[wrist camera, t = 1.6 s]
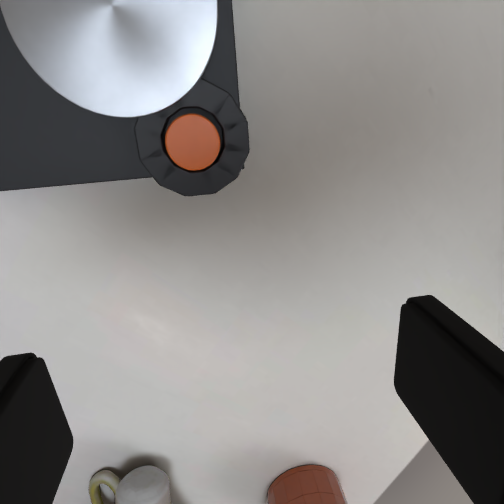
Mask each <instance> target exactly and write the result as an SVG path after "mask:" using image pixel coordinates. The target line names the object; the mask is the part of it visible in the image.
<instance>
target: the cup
mask: <svg viewBox="0 0 504 504" xmlns="http://www.w3.org/2000/svg"><path fill="white" fill-rule="evenodd" d="M267 499H268V504H348V503H347V500H346V498H345V495H344V492H343V490H342V487H341V484H340V483H339V481H338V478H337V476H336V475H335V473H334V472H333V471H331V470H330V469H328V468H326V467H323V466H318V465H305V466H300V467H296V468H293V469H291V470H288V471H286V472H285V473H283V474H282V475H280V476H279V477H278V478H277V479H276V480H275V481H274V482H273V483H272V484H271V486H270V488H269V490H268V494H267Z"/></svg>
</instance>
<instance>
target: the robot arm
mask: <svg viewBox="0 0 504 504" xmlns="http://www.w3.org/2000/svg"><path fill="white" fill-rule="evenodd" d="M394 386H395V390H396V392H397V394H398V396H399V397H400V399H401V400H402V401H403V403H404V404H405V406H406V407H407V409H408V410H409V411H410V413H411V414H412V416H413V417H414V419H415V420H416V421H417V423H418V424H419V426H420V427H421V429H422V430H423V432H424V433H425V434H426V436H427V437H428V439H429V440H430V442H431V443H432V444H433V446H434V447H435V449H436V450H437V452H438V453H439V454H440V456H441V457H442V459H443V460H444V462H445V463H446V464H447V466H448V467H449V469H450V470H451V472H452V473H453V474H454V476H455V477H456V479H457V480H458V481H459V483H460V484H461V486H462V487H463V489H464V490H465V492H466V493H467V494H468V496H469V497H470V499H471V500H472V502H473V503H474V504H504V352H503V351H502V350H501V349H500V348H498V347H497V346H496V345H495V344H493V343H492V342H491V341H489V340H488V339H487V338H486V337H484V336H483V335H482V334H481V333H479V332H478V331H477V330H476V329H474V328H473V327H472V326H471V325H469V324H468V323H467V322H465V321H464V320H463V319H462V318H460V317H459V316H458V315H457V314H455V313H454V312H453V311H452V310H450V309H449V308H448V307H447V306H445V305H444V304H443V303H441V302H440V301H439V300H438V299H436V298H435V297H434V296H432V295H425V296H418V297H411V298H409V299H408V300H407V301H406V304H403V305H402V307H401V313H400V323H399V333H398V343H397V354H396V364H395V374H394ZM72 448H73V436H72V433H71V430H70V427H69V425H68V422H67V419H66V417H65V414H64V411H63V409H62V406H61V404H60V401H59V398H58V396H57V393H56V390H55V388H54V385H53V382H52V380H51V377H50V374H49V372H48V369H47V367H46V364H45V362H44V360H43V359H42V358H40V357H39V358H37V357H36V355H35V354H34V353H25V354H18V355H11V356H6V357H4V358H3V359H2V360H1V361H0V504H52V503H53V500H54V497H55V495H56V492H57V490H58V487H59V484H60V482H61V479H62V476H63V474H64V471H65V468H66V466H67V463H68V460H69V458H70V455H71V452H72Z"/></svg>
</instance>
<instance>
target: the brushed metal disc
mask: <svg viewBox="0 0 504 504" xmlns="http://www.w3.org/2000/svg"><path fill="white" fill-rule="evenodd" d="M0 6H1V11H2V14H3V16H4V19H5V22H6V25H7V28H8V30H9V32H10V34H11V36H12V38H13V40H14V42H15V44H16V46H17V47H18V49H19V51H20V52H21V54H22V56H23V57H24V59H25V60H26V61H27V63H28V64H29V65H30V67H31V68H32V69H33V70H34V71H35V73H36V74H37V75H38V76H39V77H40V78H41V79H42V80H43V81H44V82H45V83H46V84H47V85H48V86H50V87H51V88H52V89H53V90H54V91H55V92H57V93H58V94H60V95H61V96H62V97H64V98H65V99H67V100H68V101H70V102H72V103H74V104H76V105H77V106H79V107H81V108H84V109H86V110H89V111H91V112H94V113H97V114H101V115H105V116H110V117H118V118H135V117H142V116H148V115H151V114H155V113H158V112H160V111H163V110H165V109H167V108H169V107H171V106H172V105H174V104H175V103H177V102H178V101H180V100H181V99H182V98H183V97H184V96H186V95H187V94H188V93H189V92H190V91H191V90H192V88H193V87H194V86H195V85H196V84H197V82H198V81H199V79H200V78H201V76H202V75H203V73H204V71H205V69H206V67H207V65H208V63H209V61H210V58H211V55H212V52H213V48H214V44H215V39H216V34H217V25H218V0H0Z"/></svg>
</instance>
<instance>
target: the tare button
mask: <svg viewBox="0 0 504 504" xmlns="http://www.w3.org/2000/svg"><path fill="white" fill-rule="evenodd" d="M165 146H166V150H167V153H168V155H169V156H170V158H171V159H172V160H173V162H174V163H176V164H177V165H178V166H180V167H182V168H184V169H187V170H193V171H195V170H201V169H204V168H206V167H208V166H210V165H211V164H212V163H213V162H214V161H215V159H216V158H217V156H218V153H219V150H220V137H219V133H218V131H217V129H216V127H215V126H214V125H213V123H212V122H211V121H210V120H208V119H207V118H206V117H204V116H202V115H199V114H194V113H190V114H185V115H182V116H179V117H178V118H176V119H175V120H174V121H173V122H172V123H171V124H170V125H169V127H168V129H167V132H166V136H165Z"/></svg>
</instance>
